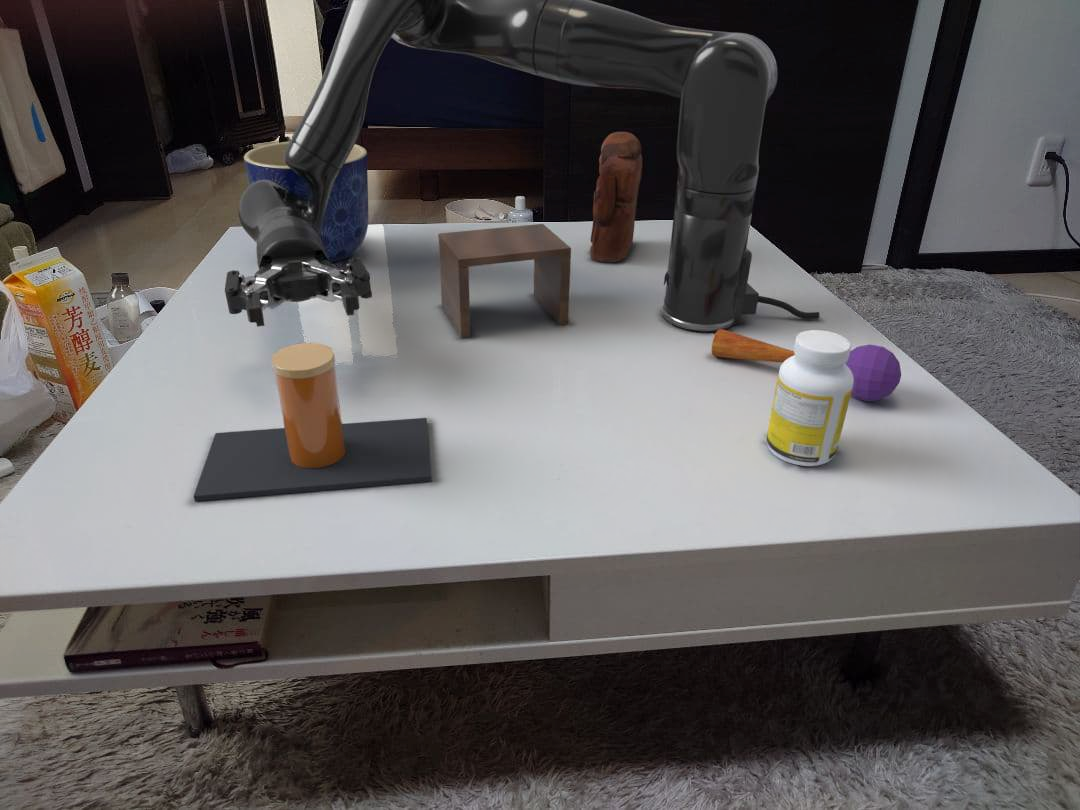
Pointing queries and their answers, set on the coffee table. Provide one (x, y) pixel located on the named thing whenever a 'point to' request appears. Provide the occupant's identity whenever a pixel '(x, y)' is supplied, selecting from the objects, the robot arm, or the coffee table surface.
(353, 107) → the robot arm
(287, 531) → the coffee table surface
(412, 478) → the mat
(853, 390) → the purple and wooden maraca
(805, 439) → the pill bottle
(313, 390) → the jar
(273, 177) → the planter
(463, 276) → the shelf
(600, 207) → the wooden figurine
